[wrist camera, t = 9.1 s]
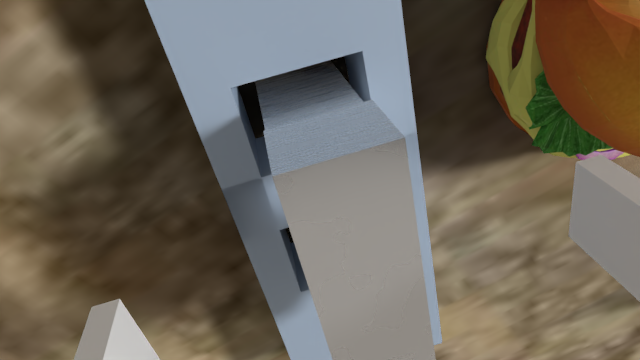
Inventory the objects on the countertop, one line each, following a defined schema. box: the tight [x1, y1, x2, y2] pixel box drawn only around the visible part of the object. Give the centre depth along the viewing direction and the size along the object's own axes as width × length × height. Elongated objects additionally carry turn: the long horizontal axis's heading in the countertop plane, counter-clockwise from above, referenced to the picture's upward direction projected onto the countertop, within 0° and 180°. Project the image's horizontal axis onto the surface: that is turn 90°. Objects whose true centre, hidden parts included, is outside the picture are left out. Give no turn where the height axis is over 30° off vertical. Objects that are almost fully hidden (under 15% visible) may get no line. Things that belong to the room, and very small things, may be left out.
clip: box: [255, 60, 436, 360], centre depth 16 cm, size 9×3×10 cm, turn 13°
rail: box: [144, 0, 442, 360], centre depth 19 cm, size 22×8×4 cm, turn 13°
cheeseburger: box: [486, 0, 640, 160], centre depth 16 cm, size 10×11×10 cm
